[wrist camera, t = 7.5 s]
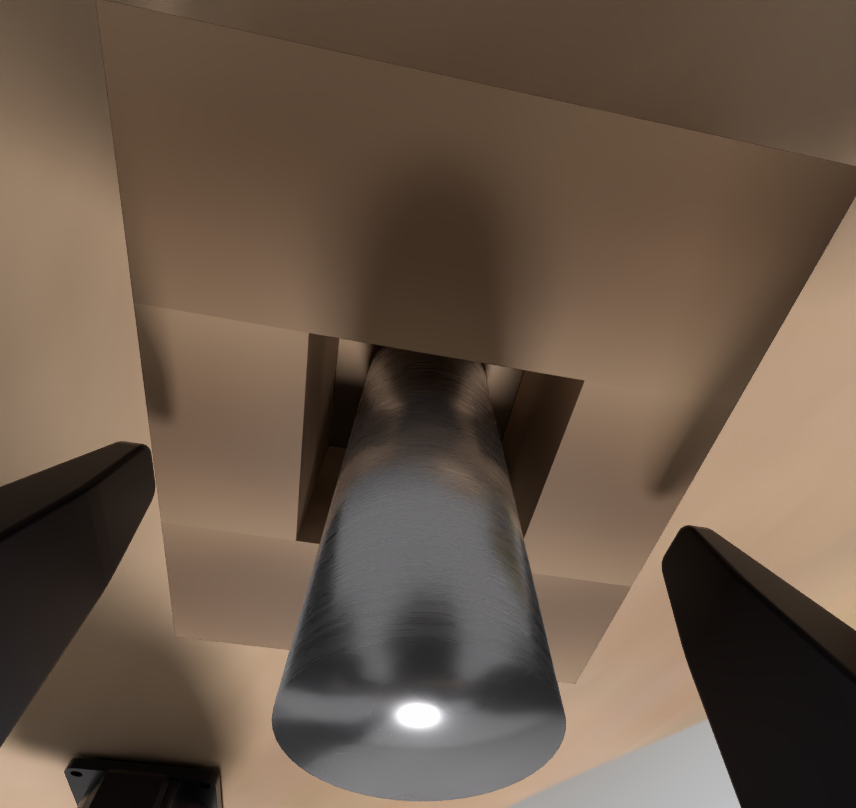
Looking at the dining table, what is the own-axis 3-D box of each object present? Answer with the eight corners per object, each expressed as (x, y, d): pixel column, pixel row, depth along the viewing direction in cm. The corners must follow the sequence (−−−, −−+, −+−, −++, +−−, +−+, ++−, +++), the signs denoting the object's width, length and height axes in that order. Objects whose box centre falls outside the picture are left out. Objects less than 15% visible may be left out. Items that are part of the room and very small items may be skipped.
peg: (471, 443, 13) (519, 811, 6) (361, 425, 12) (270, 788, 5) (498, 340, 11) (610, 663, 4) (375, 318, 11) (275, 623, 4)
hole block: (546, 574, 15) (575, 683, 12) (230, 531, 14) (175, 636, 11) (726, 162, 9) (870, 170, 6) (216, 51, 9) (95, -3, 5)
